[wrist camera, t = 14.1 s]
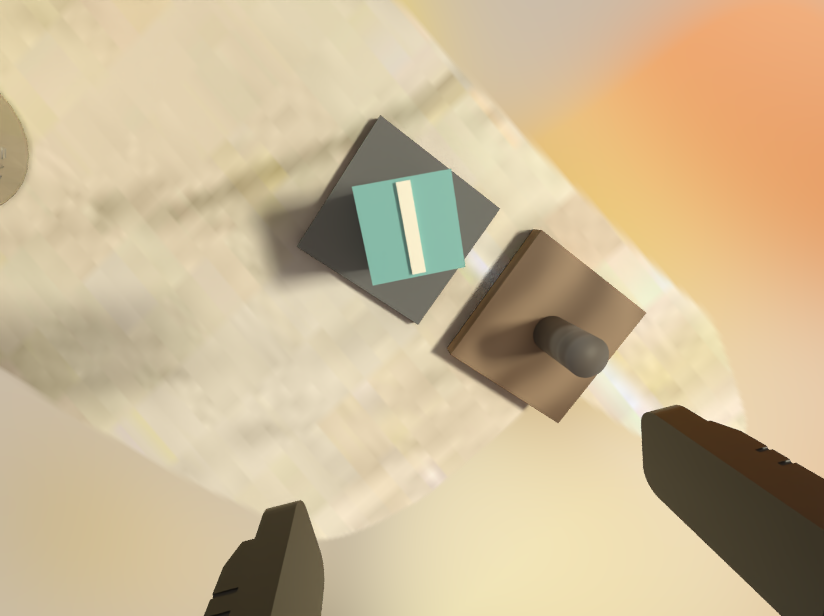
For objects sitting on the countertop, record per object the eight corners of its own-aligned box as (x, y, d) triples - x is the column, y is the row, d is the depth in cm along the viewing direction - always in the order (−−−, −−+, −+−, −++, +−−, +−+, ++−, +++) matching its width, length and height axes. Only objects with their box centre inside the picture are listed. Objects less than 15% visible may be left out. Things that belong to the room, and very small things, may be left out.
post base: (446, 348, 32) (468, 383, 25) (533, 229, 31) (581, 233, 24) (550, 414, 35) (594, 462, 28) (634, 308, 33) (702, 332, 27)
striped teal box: (354, 193, 28) (351, 186, 21) (429, 179, 28) (451, 168, 21) (370, 269, 29) (372, 286, 22) (441, 254, 29) (466, 267, 22)
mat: (298, 245, 29) (296, 246, 28) (379, 118, 27) (380, 115, 27) (416, 321, 31) (418, 324, 30) (496, 208, 30) (500, 208, 29)
